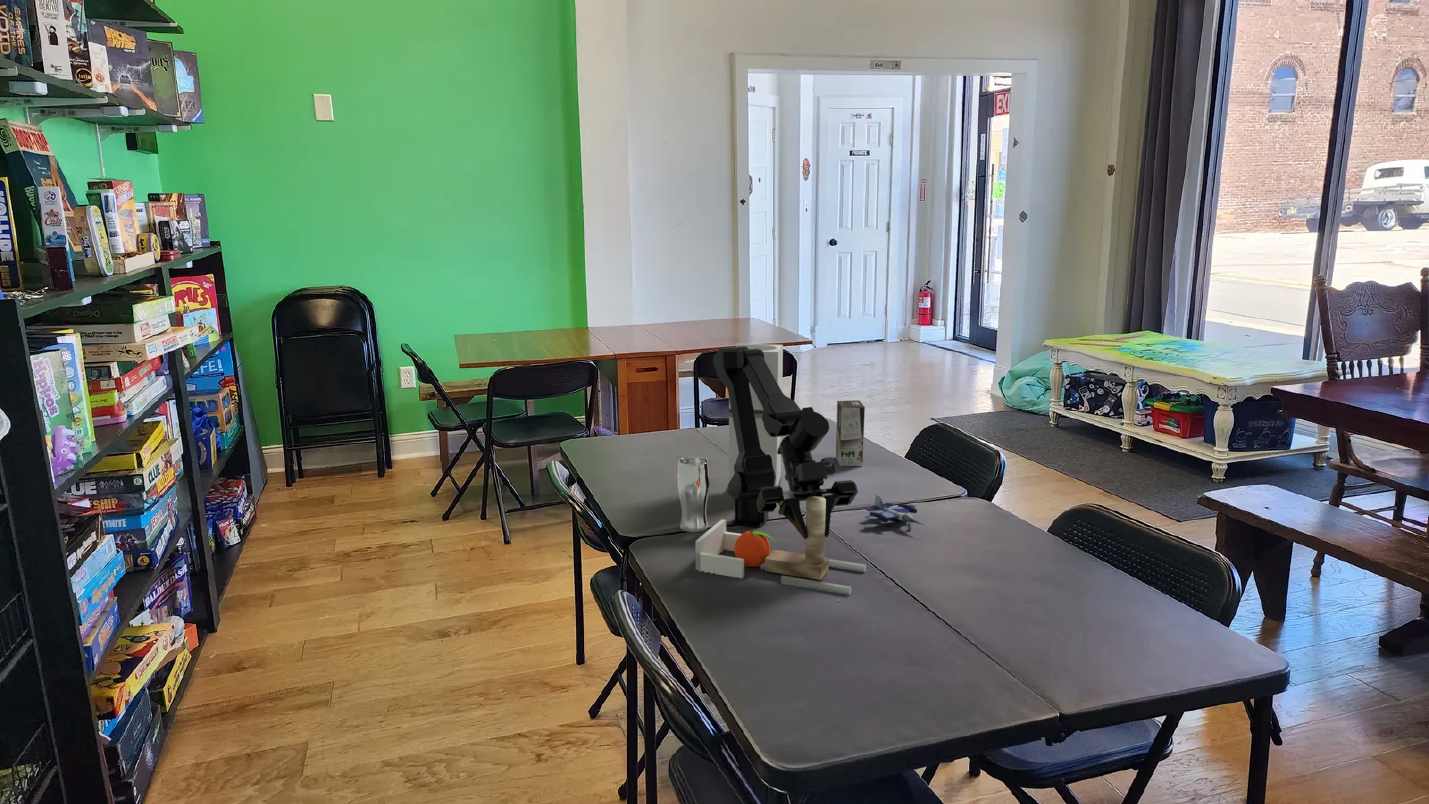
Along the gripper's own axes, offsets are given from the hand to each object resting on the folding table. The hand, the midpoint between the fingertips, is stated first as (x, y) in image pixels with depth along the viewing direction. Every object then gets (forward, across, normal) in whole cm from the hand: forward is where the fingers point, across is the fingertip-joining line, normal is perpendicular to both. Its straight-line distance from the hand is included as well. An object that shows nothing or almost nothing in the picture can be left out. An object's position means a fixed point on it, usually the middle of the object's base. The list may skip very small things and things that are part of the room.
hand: (816, 537), depth 170 cm
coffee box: (-44, +34, +56) cm, 80 cm away
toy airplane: (-10, +26, +22) cm, 36 cm away
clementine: (0, -10, +12) cm, 15 cm away
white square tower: (-33, +3, +44) cm, 55 cm away
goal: (-2, -13, +13) cm, 19 cm away
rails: (+6, +2, +6) cm, 8 cm away
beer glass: (-17, -17, +28) cm, 37 cm away
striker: (+3, -3, +8) cm, 9 cm away
